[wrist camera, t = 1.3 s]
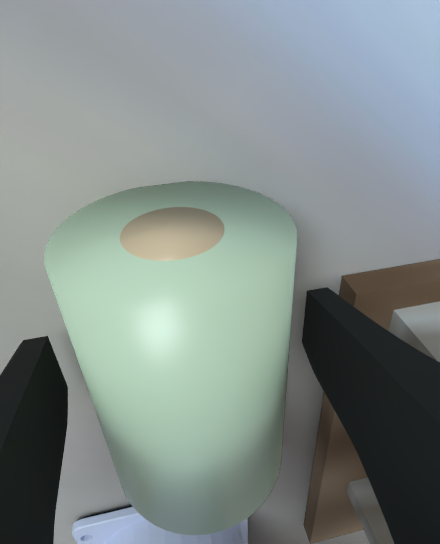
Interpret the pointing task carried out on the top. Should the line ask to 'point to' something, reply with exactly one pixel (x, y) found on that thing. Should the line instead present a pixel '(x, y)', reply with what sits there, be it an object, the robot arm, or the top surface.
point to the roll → (183, 342)
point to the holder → (331, 434)
